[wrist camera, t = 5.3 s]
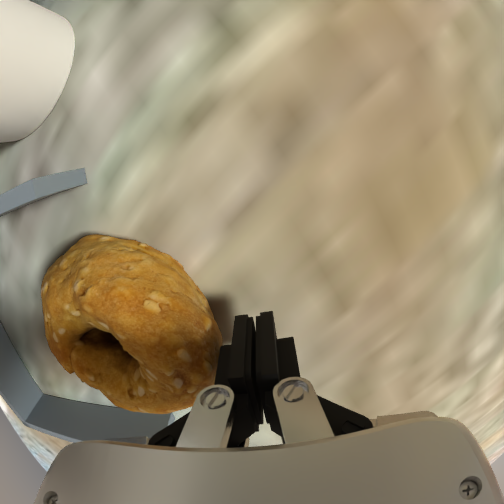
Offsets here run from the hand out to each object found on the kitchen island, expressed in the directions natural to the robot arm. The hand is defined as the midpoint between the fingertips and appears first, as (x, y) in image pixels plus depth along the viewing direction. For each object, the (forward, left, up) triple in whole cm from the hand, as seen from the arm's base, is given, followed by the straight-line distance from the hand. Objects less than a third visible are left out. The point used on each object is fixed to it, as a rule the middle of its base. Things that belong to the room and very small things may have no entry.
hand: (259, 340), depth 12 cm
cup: (-16, -11, -2) cm, 20 cm away
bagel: (-1, -7, -2) cm, 7 cm away
